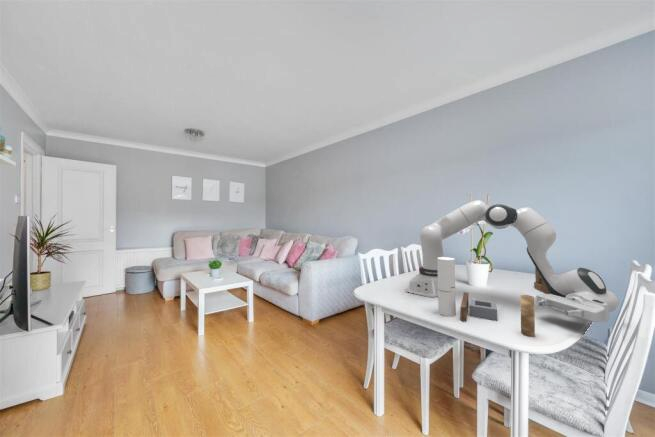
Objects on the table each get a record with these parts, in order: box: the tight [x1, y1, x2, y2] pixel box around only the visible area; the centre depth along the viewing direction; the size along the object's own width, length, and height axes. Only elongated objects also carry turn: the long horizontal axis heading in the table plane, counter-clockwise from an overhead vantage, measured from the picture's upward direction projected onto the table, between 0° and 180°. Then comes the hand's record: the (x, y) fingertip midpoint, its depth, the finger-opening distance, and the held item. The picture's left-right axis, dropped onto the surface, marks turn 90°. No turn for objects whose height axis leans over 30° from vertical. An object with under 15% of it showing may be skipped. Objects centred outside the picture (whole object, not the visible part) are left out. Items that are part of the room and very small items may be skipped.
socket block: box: [469, 298, 498, 322], centre depth 110 cm, size 10×10×5 cm
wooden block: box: [533, 266, 550, 294], centre depth 140 cm, size 4×11×18 cm, turn 167°
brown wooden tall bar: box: [520, 294, 536, 338], centre depth 92 cm, size 4×4×14 cm
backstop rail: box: [460, 291, 470, 322], centre depth 113 cm, size 2×22×6 cm, turn 148°
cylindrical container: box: [437, 256, 457, 317], centre depth 112 cm, size 7×7×25 cm
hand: (552, 308), depth 94 cm, fingers open, 8 cm apart
